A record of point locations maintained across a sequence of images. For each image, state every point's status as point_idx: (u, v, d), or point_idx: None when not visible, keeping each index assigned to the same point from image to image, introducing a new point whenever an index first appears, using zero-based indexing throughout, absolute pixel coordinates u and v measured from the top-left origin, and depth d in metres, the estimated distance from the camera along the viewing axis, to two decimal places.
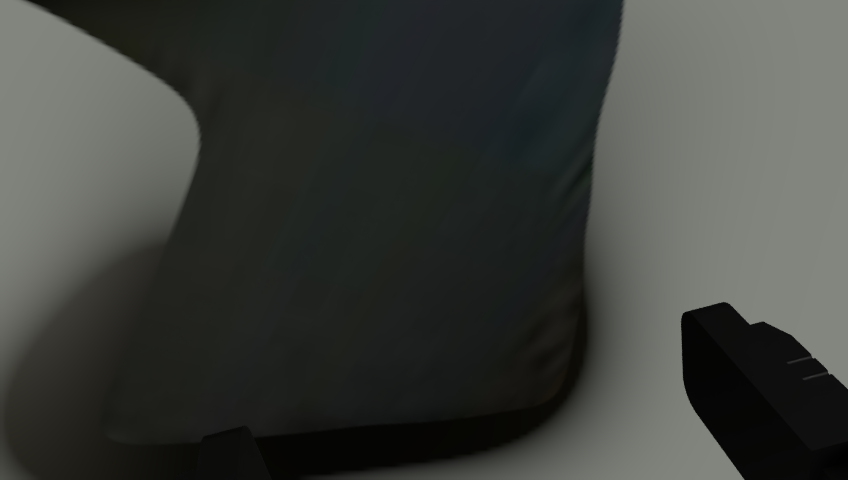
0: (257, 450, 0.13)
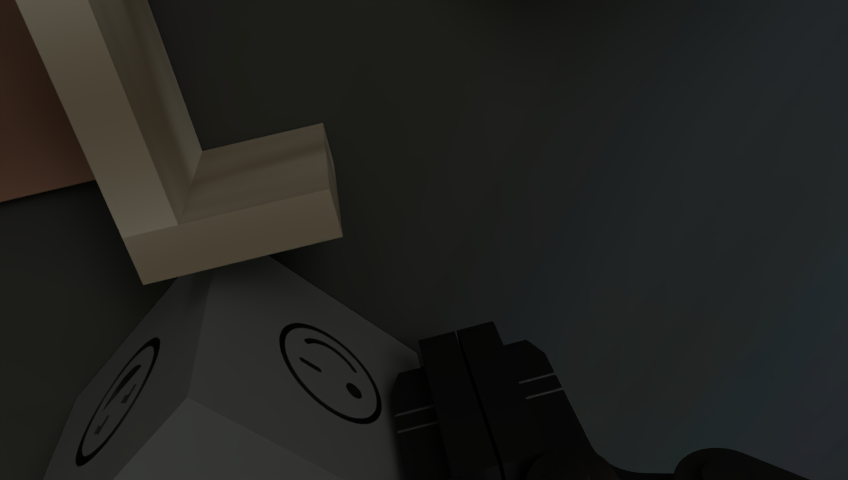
0: None
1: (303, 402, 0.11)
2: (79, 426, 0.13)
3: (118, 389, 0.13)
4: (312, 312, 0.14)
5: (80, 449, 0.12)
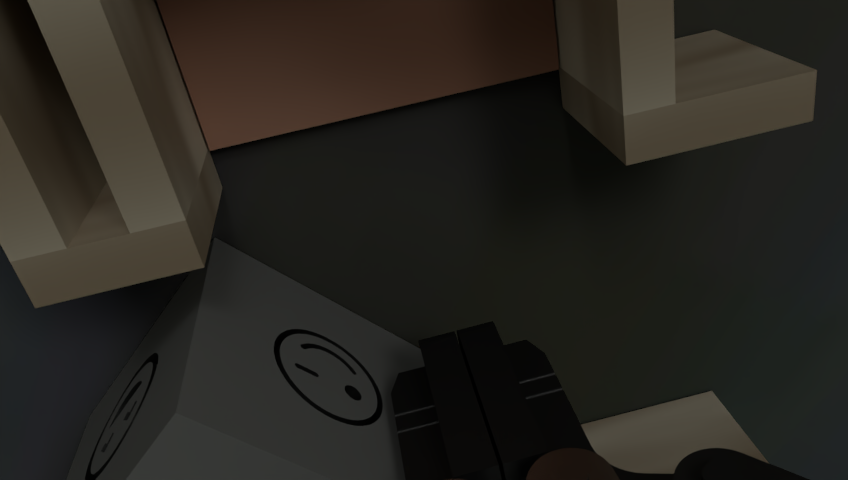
0: None
1: (298, 408, 0.11)
2: (90, 444, 0.13)
3: (123, 406, 0.13)
4: (309, 317, 0.14)
5: (90, 467, 0.12)
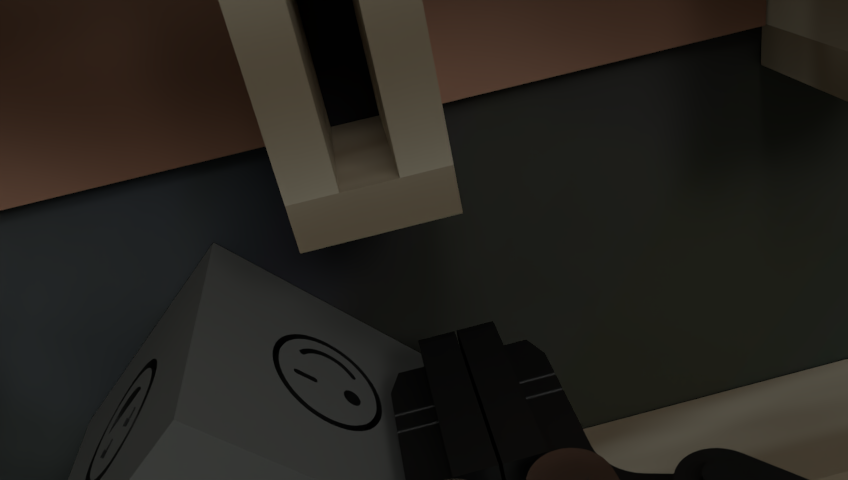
0: None
1: (297, 414, 0.11)
2: (90, 450, 0.13)
3: (122, 412, 0.13)
4: (308, 322, 0.14)
5: (89, 473, 0.12)
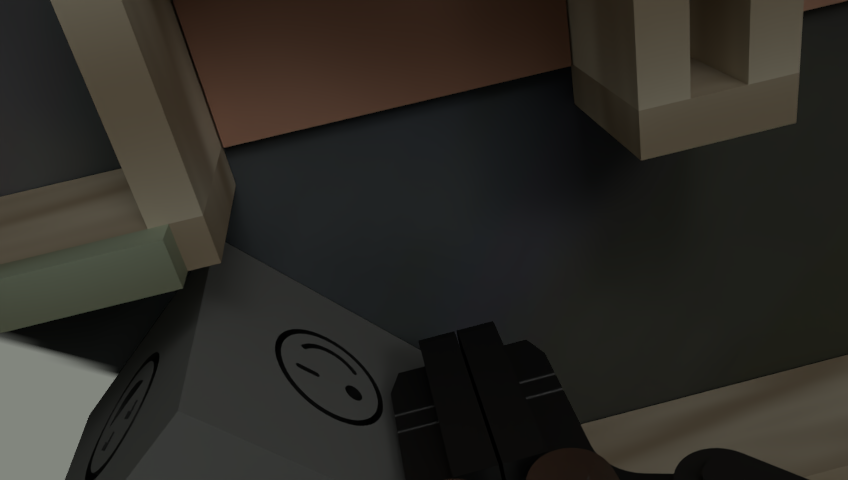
0: None
1: (300, 408, 0.11)
2: (90, 443, 0.13)
3: (123, 405, 0.13)
4: (310, 317, 0.14)
5: (90, 466, 0.12)
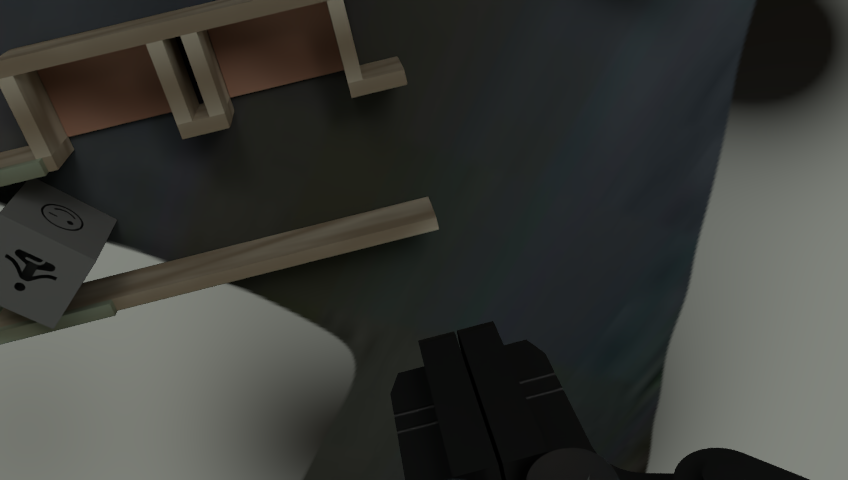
0: None
1: (43, 221, 0.38)
2: None
3: None
4: (63, 202, 0.40)
5: None
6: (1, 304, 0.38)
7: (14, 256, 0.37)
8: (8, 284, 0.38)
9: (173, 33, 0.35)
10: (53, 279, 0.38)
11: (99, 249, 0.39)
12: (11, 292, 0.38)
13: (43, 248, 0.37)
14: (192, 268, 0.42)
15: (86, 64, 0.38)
